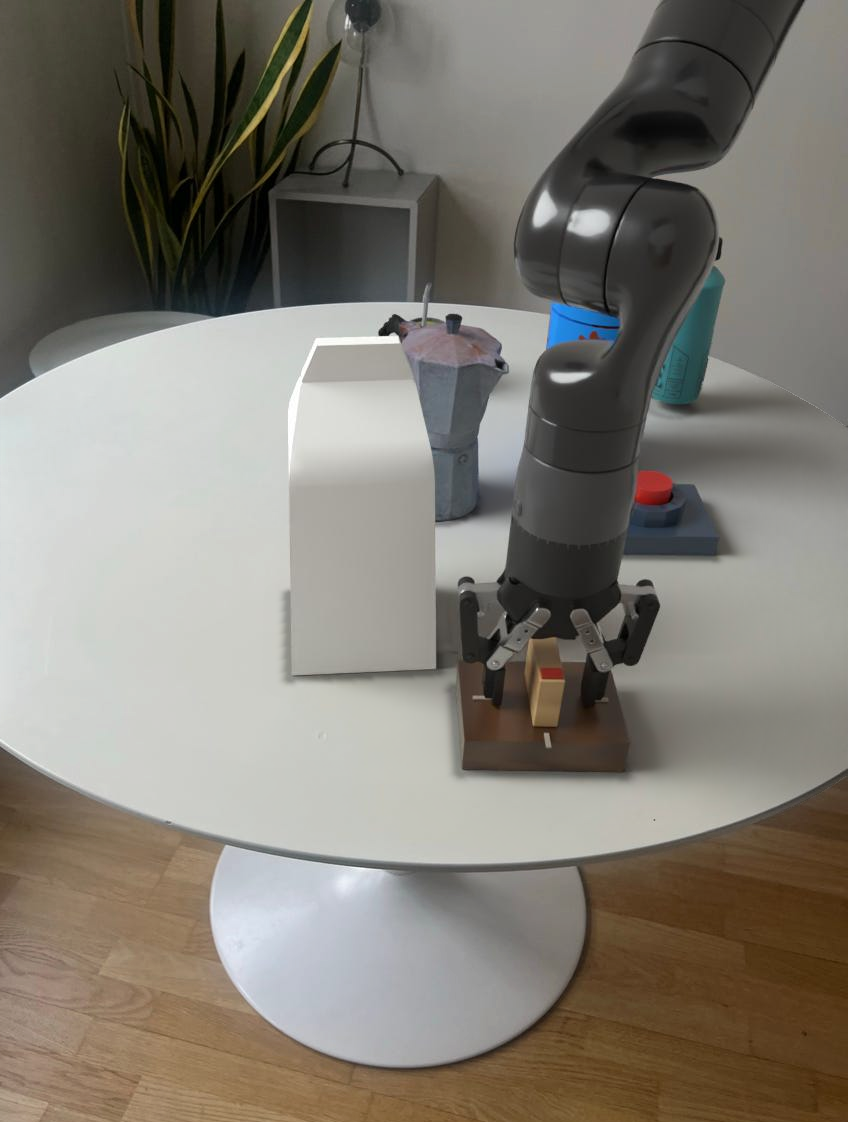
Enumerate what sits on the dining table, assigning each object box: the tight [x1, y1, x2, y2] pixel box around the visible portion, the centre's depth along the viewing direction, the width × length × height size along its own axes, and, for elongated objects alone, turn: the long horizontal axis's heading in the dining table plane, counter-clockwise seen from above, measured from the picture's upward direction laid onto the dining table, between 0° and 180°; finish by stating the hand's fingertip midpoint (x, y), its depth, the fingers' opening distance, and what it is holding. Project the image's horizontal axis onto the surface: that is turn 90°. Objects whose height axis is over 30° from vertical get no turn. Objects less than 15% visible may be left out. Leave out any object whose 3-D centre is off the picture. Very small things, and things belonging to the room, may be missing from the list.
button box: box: [623, 482, 720, 557], centre depth 96 cm, size 12×10×4 cm
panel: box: [455, 659, 632, 773], centre depth 74 cm, size 12×10×3 cm
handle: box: [525, 637, 565, 727], centre depth 71 cm, size 6×2×5 cm, turn 179°
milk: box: [287, 335, 437, 676], centre depth 76 cm, size 12×12×26 cm
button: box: [634, 470, 674, 505], centre depth 94 cm, size 4×4×2 cm
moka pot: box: [377, 313, 510, 522], centre depth 95 cm, size 10×15×20 cm, turn 53°
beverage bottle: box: [651, 236, 726, 405], centre depth 112 cm, size 6×7×20 cm
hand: (540, 698), depth 73 cm, fingers open, 6 cm apart
